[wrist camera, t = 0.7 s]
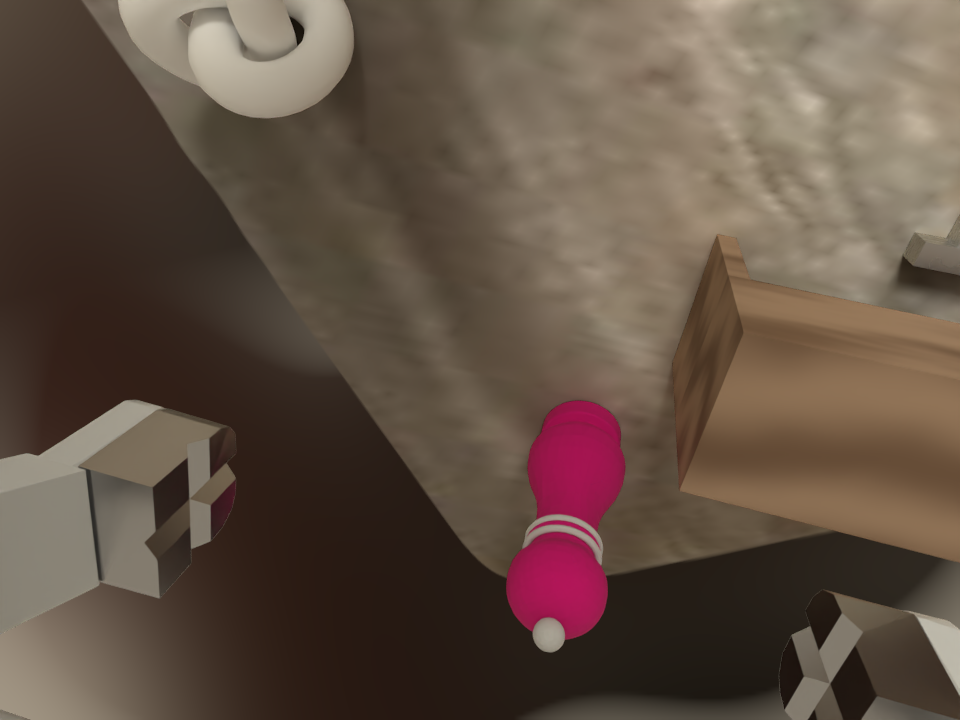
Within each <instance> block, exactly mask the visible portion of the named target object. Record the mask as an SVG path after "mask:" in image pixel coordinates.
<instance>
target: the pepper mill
mask: <svg viewBox="0 0 960 720" xmlns="http://www.w3.org/2000/svg"><path fill="white" fill-rule="evenodd" d="M620 441H621V431H620V427H619V425H618V422H617V421H616V419H615V418H614V416H613V415H612V414H611V413H610V412H609V411H608V410H606V409H605V408H603V407H601V406H600V405H597V404H594V403H592V402H587V401H570V402H566V403H563V404H561V405H559V406H557V407H555V408H554V409H553V410H551V411H550V413H549V414H548V415H547V417H546V418H545V420H544V424H543V427H542V431H541V434H540V435H539V436H538V437H537V438H536V440H535V441H534V443H533V444H532V447H531V449H530V453H529V459H528V476H529V482H530V485H531V488H532V491H533V493H534V495H535V498H536V501H537V519H536V520H535V521H534V522H533V523H532V524H531V525H530V526H529V527H528V529H527V531H526V534H525V540H524V543H523V547H522V550H520V552H519V553H518V554H517V555H516V556H515V558H514V559H513V561H512V563H511V566H510V568H509V571H508V575H507V584H506V589H507V598H508V601H509V604H510V607H511V609H512V611H513V613H514V615H515V616H516V617H517V619H518V620H519V621H520V622H521V623H522V624H523V625H524V626H525V627H526V628H528V629H529V630H531V631H532V632H533V638H534V642H535V644H536V645H537V646H538V647H539V648H540V649H541V650H543V651H545V652H554V651H556V650H558V649H559V648H560V647H561V646H562V645H563V643H564V640H565V639H572V638H575V637H578V636H581V635H583V634H585V633H586V632H588V631H589V630H591V629H592V628H593V627H594V626H595V624H596V623H597V622H598V621H599V619H600V617H601V616H602V614H603V612H604V609H605V605H606V601H607V594H608V592H607V591H608V589H607V579H606V576H605V573H604V571H603V569H602V567H601V564H602V553H603V545H602V541H601V538H600V536H599V535H598V533H597V530H598V525H599V522H600V520H601V518H602V516H603V515H604V513H605V512H606V511H607V510H608V508H609V507H610V506H611V505H612V504H613V502H614V501H615V500H616V498H617V496H618V494H619V492H620V489H621V487H622V485H623V481H624V475H625V459H624V456H623V453H622V450H621V449H620Z"/></svg>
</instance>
